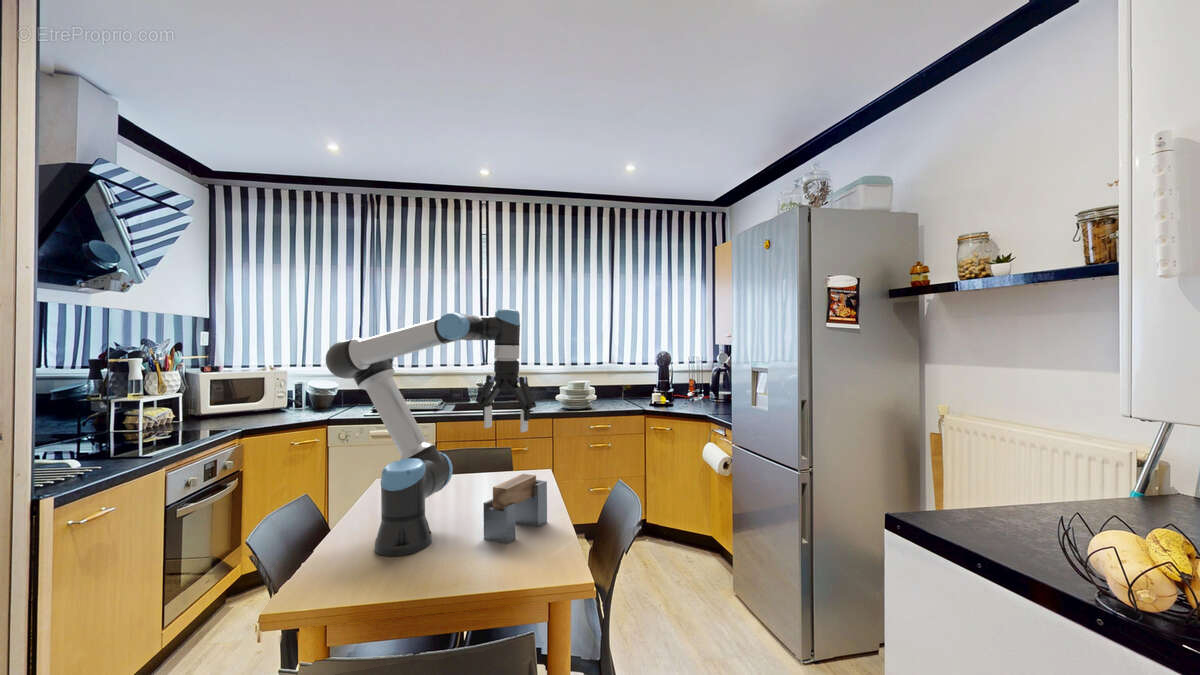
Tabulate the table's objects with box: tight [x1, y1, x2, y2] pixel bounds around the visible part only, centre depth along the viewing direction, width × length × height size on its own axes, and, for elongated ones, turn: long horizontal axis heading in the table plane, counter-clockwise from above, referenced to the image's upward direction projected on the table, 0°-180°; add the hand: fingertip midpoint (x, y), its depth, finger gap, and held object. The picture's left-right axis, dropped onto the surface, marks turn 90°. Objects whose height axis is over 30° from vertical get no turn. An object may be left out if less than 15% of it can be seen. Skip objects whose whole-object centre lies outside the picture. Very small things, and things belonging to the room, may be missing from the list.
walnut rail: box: [492, 473, 537, 509], centre depth 149 cm, size 5×16×6 cm, turn 156°
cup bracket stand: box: [483, 479, 548, 545], centre depth 149 cm, size 10×20×13 cm, turn 152°
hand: (505, 429), depth 148 cm, fingers open, 13 cm apart
